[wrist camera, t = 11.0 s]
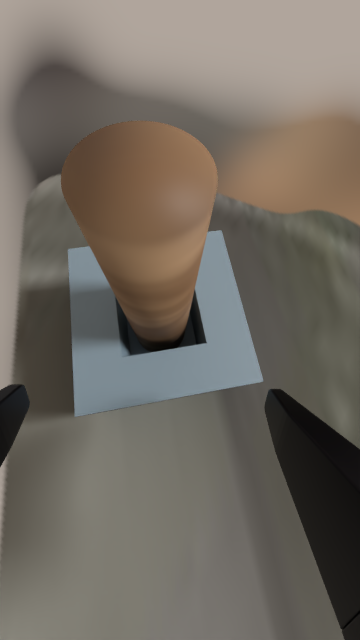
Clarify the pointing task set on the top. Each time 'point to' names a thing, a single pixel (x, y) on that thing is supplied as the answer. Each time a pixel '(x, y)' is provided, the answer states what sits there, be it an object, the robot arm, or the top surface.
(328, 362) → the top surface
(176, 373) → the hole block
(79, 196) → the walnut peg
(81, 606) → the top surface
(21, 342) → the top surface
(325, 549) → the robot arm
